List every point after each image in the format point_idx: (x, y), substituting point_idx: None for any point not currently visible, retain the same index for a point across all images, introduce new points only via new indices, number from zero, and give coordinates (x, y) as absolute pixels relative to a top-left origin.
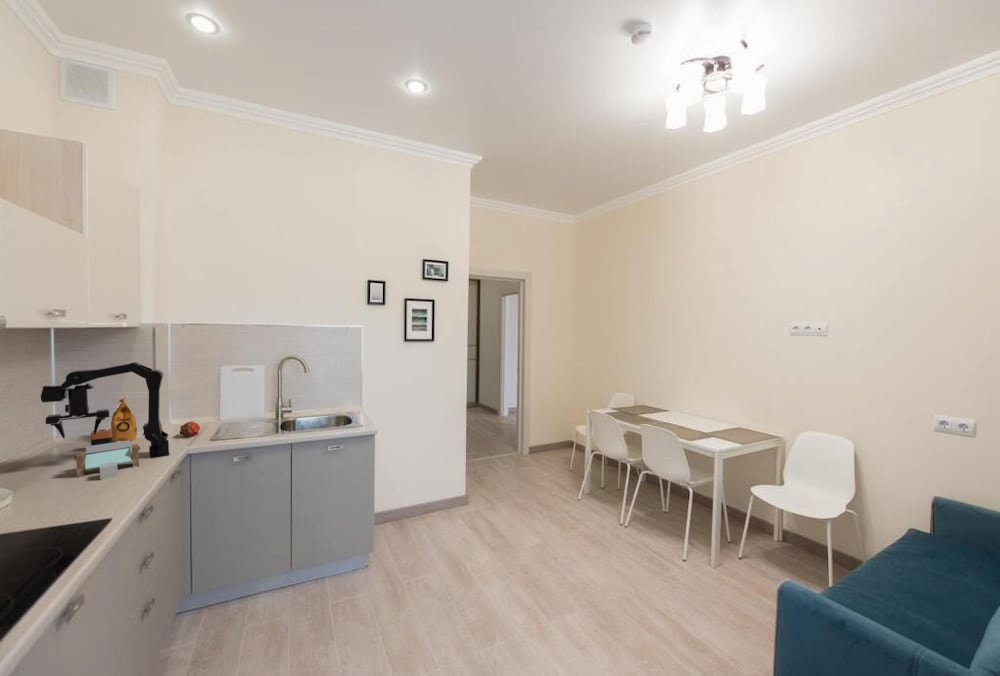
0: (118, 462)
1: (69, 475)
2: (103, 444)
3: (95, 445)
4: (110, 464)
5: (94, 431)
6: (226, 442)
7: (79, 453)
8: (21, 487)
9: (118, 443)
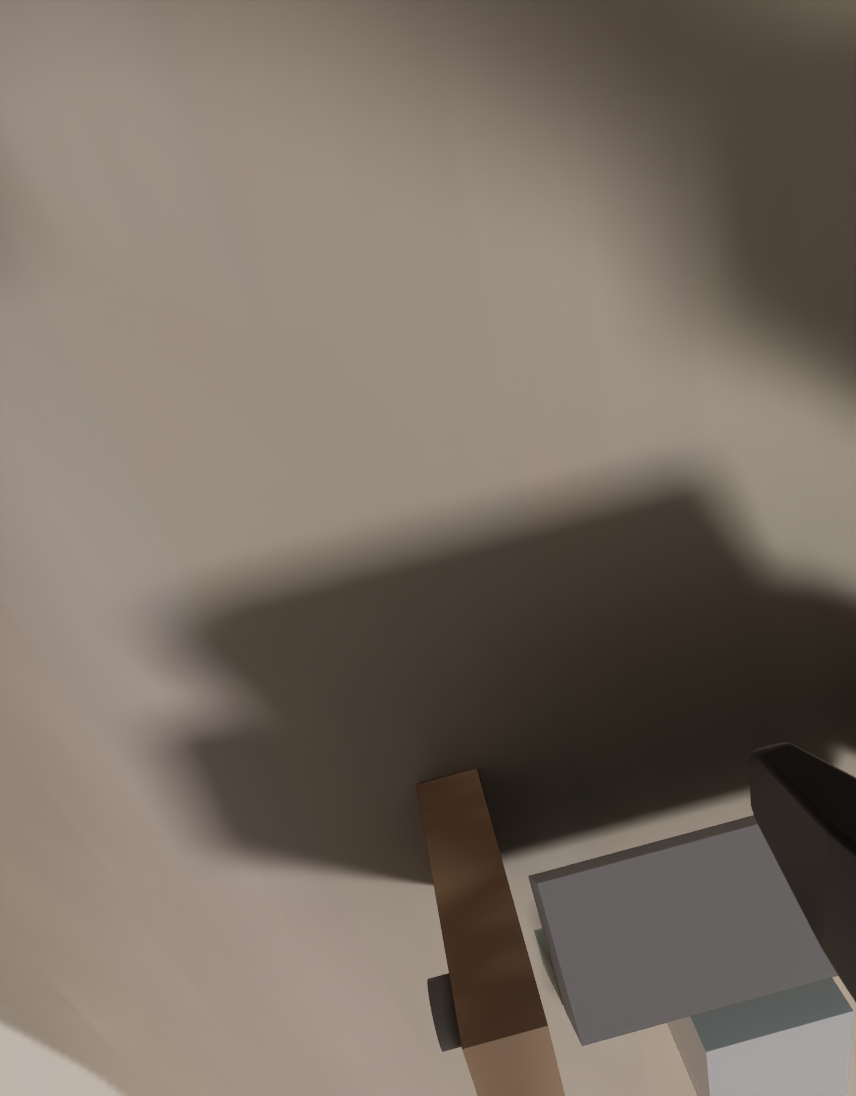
0: None
1: (347, 810)
2: (833, 970)
3: (718, 1003)
4: (795, 1070)
5: (834, 943)
6: None
7: (500, 1065)
8: (42, 999)
9: None
